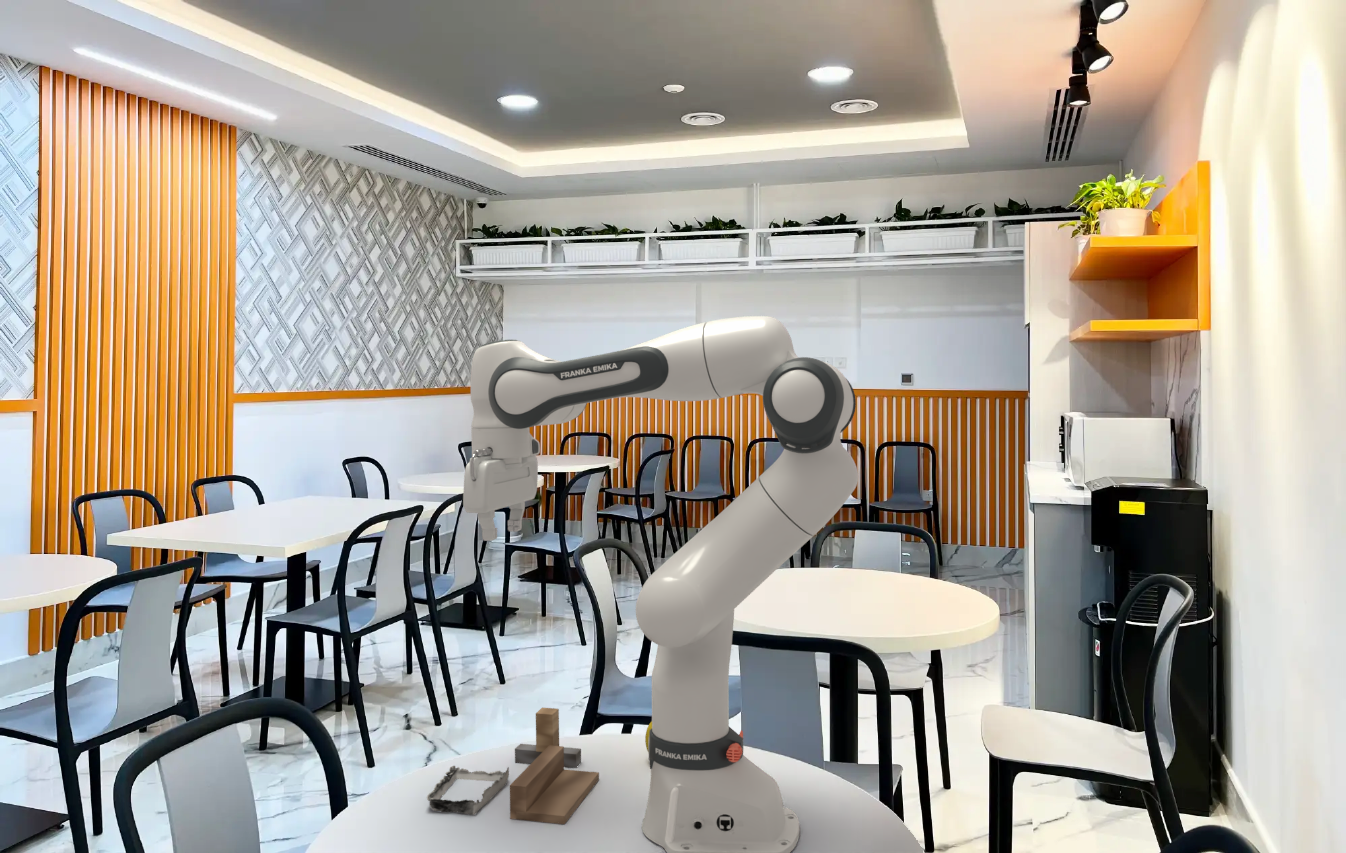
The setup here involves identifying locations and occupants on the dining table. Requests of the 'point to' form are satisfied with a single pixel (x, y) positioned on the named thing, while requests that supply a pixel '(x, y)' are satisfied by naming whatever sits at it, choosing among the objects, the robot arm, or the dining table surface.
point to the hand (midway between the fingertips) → (502, 535)
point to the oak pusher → (546, 740)
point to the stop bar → (549, 789)
